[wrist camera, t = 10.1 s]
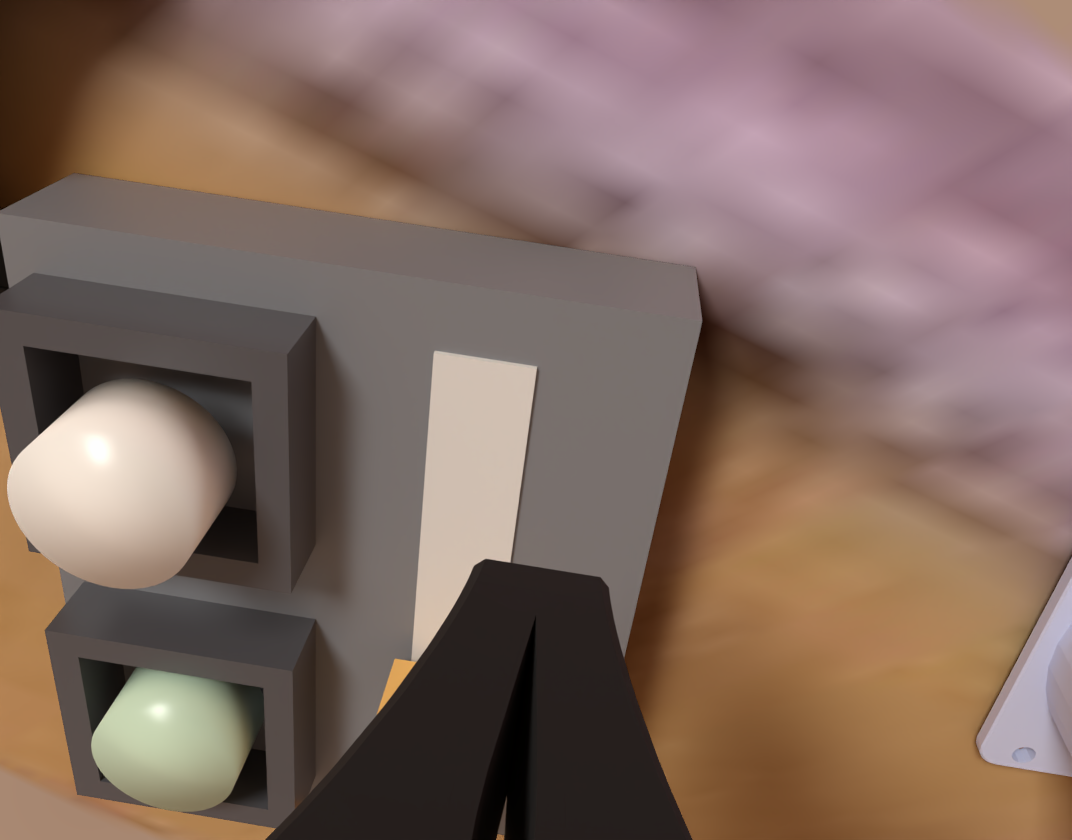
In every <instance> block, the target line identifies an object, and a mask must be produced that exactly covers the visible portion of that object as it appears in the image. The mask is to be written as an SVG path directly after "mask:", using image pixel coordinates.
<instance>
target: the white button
mask: <svg viewBox="0 0 1072 840" xmlns="http://www.w3.org/2000/svg"><path fill="white" fill-rule="evenodd" d="M236 478H237V466H236V459H235V455H234V451H233V448H232V446H231V443H230V441H229V439H228V437H227V435H226V434H225V432H224V430H223V429H222V427H221V426H220V425H219V423H218V422H217V421H216V420H215V419H214V417H213V416H212V415H211V414H210V413H209V412H208V411H207V410H206V409H204V408H203V407H202V406H201V405H200V404H199V403H197V402H196V401H194V400H193V399H192V398H190V397H189V396H187V395H185V394H183V393H182V392H180V391H178V390H176V389H174V388H171V387H169V386H166V385H163V384H160V383H157V382H153V381H149V380H143V379H118V380H111V381H108V382H105V383H102V384H100V385H98V386H95V387H93V388H92V389H91V390H89V391H88V392H86V393H85V394H84V395H83V396H82V397H81V398H80V399H79V400H77V401H76V402H75V403H74V404H73V405H72V406H71V407H70V408H69V409H68V410H66V411H65V412H64V413H63V414H62V415H61V416H60V417H59V418H58V419H57V420H56V421H54V422H53V423H52V424H51V425H50V426H49V427H48V428H47V429H46V430H45V431H43V432H42V433H41V434H40V435H39V436H38V437H37V438H36V439H35V440H34V441H33V442H31V443H30V444H29V445H28V446H27V447H26V448H25V449H24V450H23V451H22V452H21V453H20V454H19V455H18V456H17V458H16V459H15V461H14V462H13V464H12V467H11V469H10V471H9V476H8V481H7V493H8V500H9V504H10V508H11V511H12V513H13V516H14V518H15V520H16V522H17V524H18V525H19V527H20V529H21V531H22V532H23V533H24V535H25V536H26V537H27V539H28V540H29V541H30V542H31V543H32V544H33V546H34V547H35V548H36V549H37V550H38V551H39V552H41V553H42V554H43V555H44V556H45V557H46V558H47V559H49V560H50V561H51V562H53V563H54V564H55V565H57V566H58V567H60V568H62V569H63V570H65V571H66V572H68V573H70V574H72V575H74V576H76V577H78V578H81V579H83V580H86V581H88V582H91V583H94V584H98V585H101V586H106V587H111V588H119V589H139V588H146V587H150V586H155V585H157V584H160V583H162V582H165V581H166V580H168V579H170V578H172V577H173V576H174V575H175V574H177V573H178V572H179V571H180V570H181V569H182V567H183V566H184V565H185V564H186V562H187V561H188V559H189V558H190V556H191V555H192V553H193V552H194V550H195V549H196V547H197V546H198V544H199V543H200V541H201V540H202V538H203V537H204V535H205V534H206V533H207V531H208V530H209V528H210V527H211V525H212V524H213V522H214V521H215V519H216V518H217V516H218V515H219V513H220V512H221V510H222V509H223V507H224V506H225V504H226V503H227V501H228V500H229V498H230V496H231V495H232V492H233V490H234V487H235V483H236Z"/></svg>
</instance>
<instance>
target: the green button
mask: <svg viewBox="0 0 1072 840" xmlns="http://www.w3.org/2000/svg"><path fill="white" fill-rule="evenodd" d="M264 719H265V716H264V696H263V694H262V692H261V690H260V688H259V687H255V686H249V685H243V684H237V683H231V682H225V681H219V680H213V679H207V678H201V677H195V676H189V675H183V674H177V673H171V672H165V671H158V670H152V669H146V668H140V667H136V668H135V670H134V671H133V673H132V675H131V676H130V678H129V679H128V681H127V682H126V684H125V685H124V687H123V688H122V690H121V691H120V693H119V695H118V696H117V698H116V699H115V701H114V702H113V704H112V705H111V707H110V708H109V710H108V712H107V713H106V715H105V716H104V718H103V719H102V721H101V722H100V724H99V725H98V727H97V729H96V730H95V732H94V734H93V737H92V742H91V749H92V754H93V758H94V760H95V762H96V764H97V766H98V768H99V769H100V771H101V772H102V773H103V775H104V776H105V777H106V778H107V779H108V780H109V781H110V782H111V783H112V784H113V785H114V786H116V787H117V788H118V789H119V790H121V791H122V792H124V793H125V794H127V795H129V796H130V797H132V798H134V799H136V800H138V801H140V802H142V803H145V804H148V805H150V806H153V807H157V808H160V809H165V810H170V811H178V812H194V811H201V810H205V809H209V808H212V807H214V806H216V805H218V804H220V803H221V802H223V801H224V800H225V799H226V798H227V797H228V796H229V795H230V793H231V791H232V789H233V787H234V785H235V783H236V781H237V778H238V776H239V774H240V772H241V770H242V768H243V765H244V763H245V761H246V759H247V757H248V754H249V752H250V750H251V748H252V746H253V743H254V741H255V739H256V737H257V735H258V732H259V730H260V728H261V726H262V724H263V721H264Z"/></svg>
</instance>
